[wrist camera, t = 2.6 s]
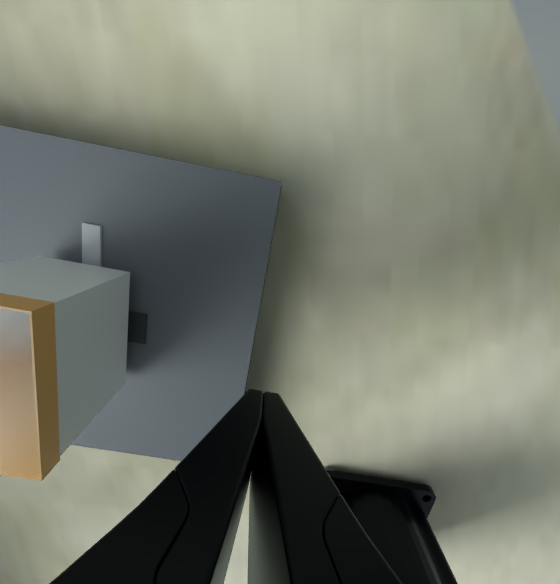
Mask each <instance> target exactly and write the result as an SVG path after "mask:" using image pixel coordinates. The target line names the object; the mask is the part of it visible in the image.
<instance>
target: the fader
mask: <svg viewBox="0 0 560 584" xmlns="http://www.w3.org/2000/svg"><path fill="white" fill-rule="evenodd" d="M129 288H130V272H127V271H122V270H116V269H110V268H105V267H99V266H94V265H88V264H83V263H77V262H71V261H66V260H60V259H55V258H49V257H43V256H36V257H30V258H25V259H20V260H14V261H9V262H4V263H0V475H4V476H11V477H19V478H26V479H33V480H40V481H42V480H43V479H44V478H45V477H46V475H47V474H48V473H49V472H50V471H51V470H52V469H53V468H54V466H55V465H56V464H57V463H58V462H59V461H60V456H61V455H62V453H63V452H64V451H65V450H66V449H67V448H68V447H69V446H70V445H71V443H72V442H73V441H74V440H75V439H76V438H77V437H78V436H79V434H80V433H81V432H82V431H83V430H84V429H85V428H86V427H87V426H88V424H89V423H90V422H91V421H92V420H93V419H94V418H95V417H96V416H97V414H98V413H99V412H100V411H101V410H102V409H103V408H104V407H105V406H106V404H107V403H108V402H109V401H110V400H111V399H112V398H113V397H114V396H115V394H116V393H117V392H118V391H119V390H120V389H121V388H122V387H123V386H124V384H125V383H126V362H127V337H128V312H129Z"/></svg>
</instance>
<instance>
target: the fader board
mask: <svg viewBox="0 0 560 584" xmlns="http://www.w3.org/2000/svg"><path fill="white" fill-rule="evenodd" d="M280 191H281V181H276V180H271V179H266V178H261V177H256V176H251V175H246V174H241V173H236V172H231V171H226V170H221V169H216V168H211V167H206V166H201V165H196V164H191V163H186V162H181V161H176V160H171V159H166V158H161V157H156V156H151V155H146V154H141V153H136V152H131V151H126V150H121V149H116V148H111V147H106V146H101V145H96V144H91V143H86V142H81V141H76V140H71V139H66V138H61V137H56V136H51V135H46V134H41V133H36V132H31V131H26V130H21V129H16V128H11V127H6V126H1V125H0V263H4V262H9V261H14V260H20V259H25V258H30V257H36V256H43V257H49V258H55V259H60V260H66V261H71V262H77V263H83V264H88V265H94V266H99V267H105V268H110V269H116V270H122V271H127V272H130V288H129V312H128V337H127V362H126V383H125V384H124V386H123V387H122V388H121V389H120V390H119V391H118V392H117V393H116V394H115V396H114V397H113V398H112V399H111V400H110V401H109V402H108V403H107V404H106V406H105V407H104V408H103V409H102V410H101V411H100V412H99V413H98V414H97V416H96V417H95V418H94V419H93V420H92V421H91V422H90V423H89V424H88V426H87V427H86V428H85V429H84V430H83V431H82V432H81V433H80V434H79V436H78V437H77V438H76V439H75V440H74V441H73V442H72V443H71V445H77V446H83V447H90V448H97V449H104V450H110V451H117V452H124V453H131V454H137V455H144V456H151V457H158V458H164V459H171V460H178V461H182V460H183V459H184V458H185V457H186V456H187V455H188V454H189V453H190V451H191V450H192V449H193V448H194V447H195V446H196V445H197V444H198V443H199V442H200V441H201V440H202V439H203V438H204V437H205V436H206V434H207V433H208V432H209V431H210V430H211V429H212V428H213V427H214V426H215V425H216V424H217V423H218V422H219V421H220V420H221V418H222V417H223V416H224V415H225V414H226V413H227V412H228V411H229V410H230V409H231V408H232V407H233V406H234V405H235V404H236V402H237V401H238V400H239V399H240V398H241V397H242V396H243V395H244V394H245V389H246V383H247V377H248V372H249V366H250V361H251V355H252V349H253V344H254V338H255V332H256V327H257V321H258V315H259V310H260V304H261V298H262V293H263V287H264V281H265V276H266V270H267V265H268V259H269V253H270V248H271V242H272V236H273V231H274V225H275V219H276V214H277V208H278V202H279V197H280Z"/></svg>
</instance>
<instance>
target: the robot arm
mask: <svg viewBox="0 0 560 584" xmlns="http://www.w3.org/2000/svg"><path fill="white" fill-rule="evenodd" d="M250 475H251V478H250ZM249 480H250V501H249V545H248V584H458V583H457V581H456V579H455V577H454V575H453V573H452V571H451V569H450V566H449V564H448V562H447V560H446V558H445V556H444V554H443V552H442V550H441V548H440V545H439V543H438V541H437V539H436V537H435V535H434V533H433V531H432V529H431V526H430V524H429V522H428V520H427V517H428V515H429V513H430V511H431V508H432V506H433V504H434V502H435V499H436V496H435V494H434V492H433V490H432V488H431V487H430V486H428V485H424V484H418V483H411V482H404V481H398V480H391V479H384V478H378V477H371V476H364V475H358V474H351V473H344V472H338V471H331V470H326V469H325V468H324V466H323V464H322V463H321V461H320V460H319V458H318V456H317V455H316V453H315V452H314V450H313V448H312V447H311V445H310V444H309V442H308V440H307V439H306V437H305V435H304V434H303V432H302V431H301V429H300V427H299V426H298V424H297V423H296V421H295V419H294V418H293V416H292V414H291V413H290V411H289V410H288V408H287V406H286V405H285V403H284V402H283V400H282V398H281V397H280V395H279V394H277V393H272V392H264V394H263V392H262V391H259V390H253V389H249V390H248V391H247V392H246V393H245V394H244V395H243V396H242V397H241V398H240V399H239V400H238V401H237V402H236V404H235V405H234V406H233V407H232V408H231V409H230V410H229V411H228V412H227V413H226V414H225V415H224V416H223V417H222V418H221V420H220V421H219V422H218V423H217V424H216V425H215V426H214V427H213V428H212V429H211V430H210V431H209V432H208V433H207V434H206V436H205V437H204V438H203V439H202V440H201V441H200V442H199V443H198V444H197V445H196V446H195V447H194V448H193V449H192V450H191V451H190V453H189V454H188V455H187V456H186V457H185V458H184V459H183V460H182V461H181V462H180V463H179V464H178V465H177V466H176V467H175V470H173V471H171V473H170V474H169V475H168V476H167V477H166V478H165V479H164V480H163V481H162V482H161V483H160V484H159V485H158V486H157V487H156V488H155V489H154V490H153V491H152V492H151V493H150V494H149V495H148V496H147V497H146V498H145V499H144V500H143V501H142V502H141V503H140V504H139V505H138V506H137V507H136V508H135V509H134V510H133V511H132V512H131V513H129V514H128V515H127V516H126V517H125V518H124V519H123V520H122V521H121V522H119V523H118V524H117V525H116V526H115V527H114V528H113V529H112V530H111V531H109V532H108V533H107V534H106V535H105V536H104V537H103V538H101V539H100V540H99V541H98V542H97V543H96V544H94V545H93V546H92V547H91V548H90V549H89V550H88V551H86V552H85V553H84V554H83V555H82V556H81V557H79V558H78V559H77V560H76V561H75V562H74V563H73V564H71V565H70V566H69V567H68V568H67V569H66V570H64V571H63V572H62V573H61V574H60V575H59V576H58V577H56V578H55V579H54V580H53V581H52V582H51V583H50V584H224V580H225V576H226V572H227V568H228V564H229V560H230V556H231V552H232V548H233V544H234V540H235V536H236V533H237V529H238V525H239V521H240V517H241V513H242V509H243V505H244V501H245V497H246V493H247V489H248V485H249Z"/></svg>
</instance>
